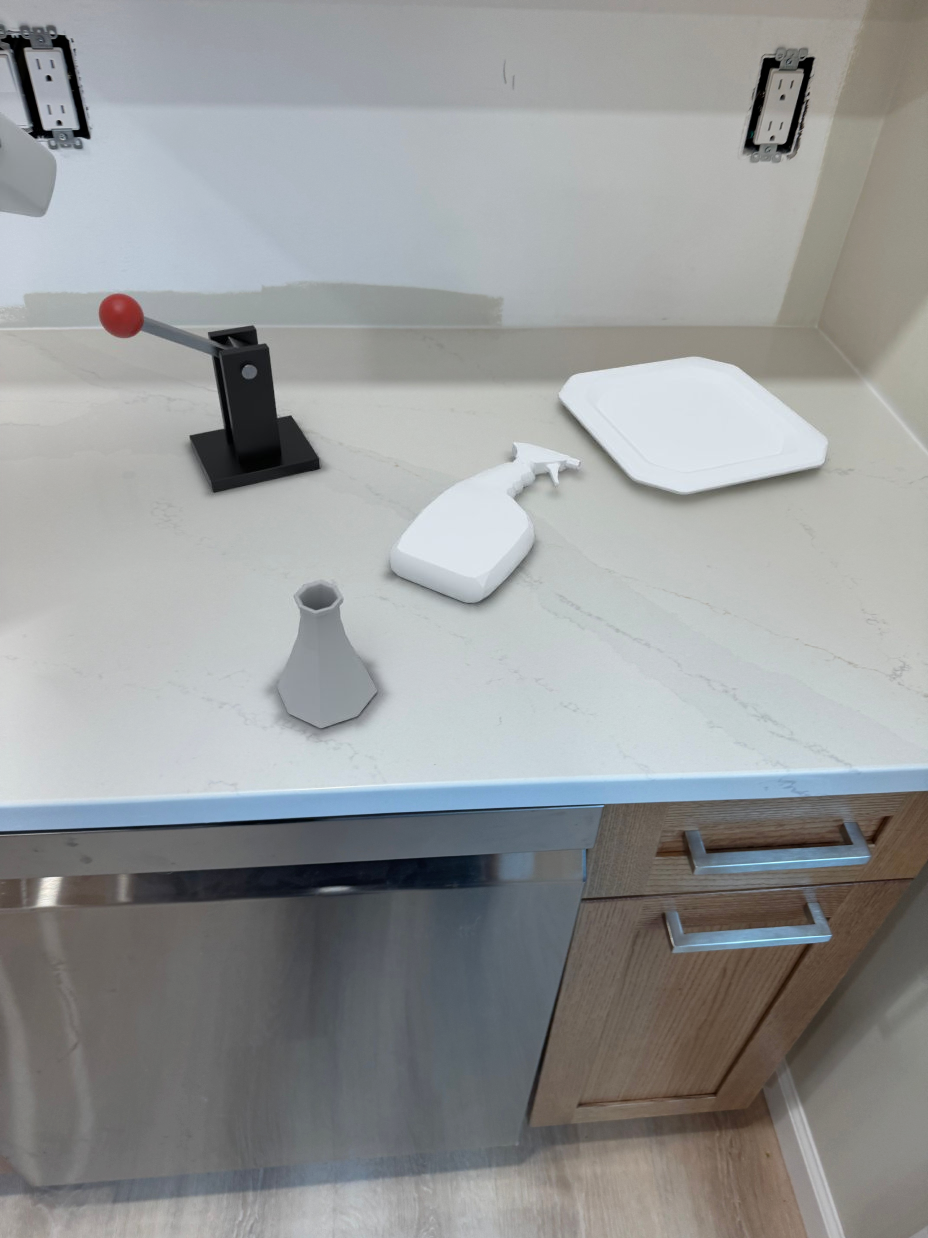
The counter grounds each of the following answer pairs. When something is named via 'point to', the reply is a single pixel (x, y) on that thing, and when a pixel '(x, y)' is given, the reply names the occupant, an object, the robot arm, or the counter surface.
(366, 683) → the flask
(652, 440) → the plate
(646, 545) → the counter surface
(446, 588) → the spray bottle
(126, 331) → the lever
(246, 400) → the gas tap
